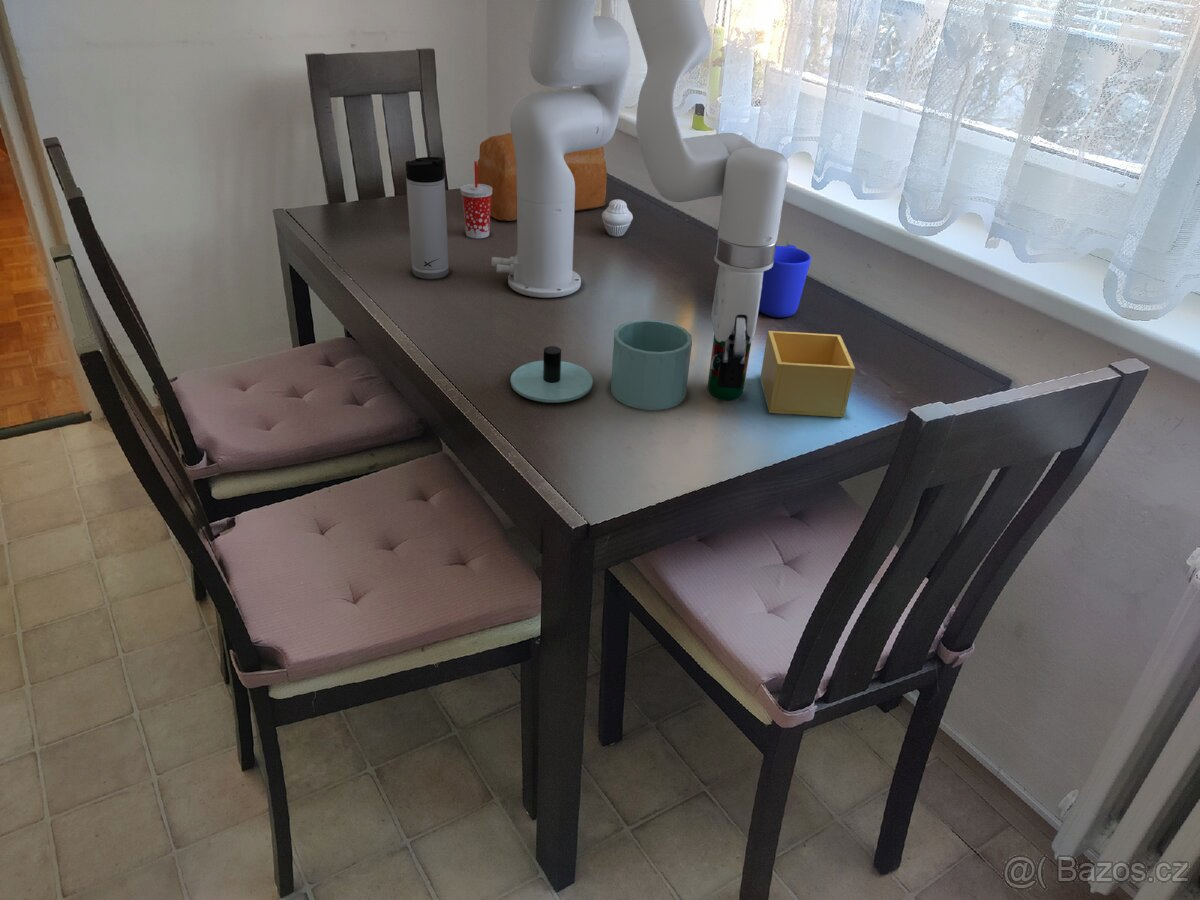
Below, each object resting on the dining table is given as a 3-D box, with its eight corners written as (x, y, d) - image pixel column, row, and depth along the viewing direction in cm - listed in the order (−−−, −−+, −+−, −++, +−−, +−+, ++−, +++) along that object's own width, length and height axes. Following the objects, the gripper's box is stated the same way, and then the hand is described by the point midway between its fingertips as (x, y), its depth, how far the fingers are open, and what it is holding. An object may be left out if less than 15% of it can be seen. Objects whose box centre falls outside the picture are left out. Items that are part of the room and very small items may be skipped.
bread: (611, 208, 191) (615, 132, 183) (501, 225, 179) (501, 144, 170) (578, 190, 201) (580, 117, 192) (472, 205, 189) (469, 128, 180)
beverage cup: (497, 238, 173) (496, 165, 165) (466, 241, 171) (463, 167, 163) (488, 227, 177) (486, 156, 170) (458, 230, 175) (455, 158, 168)
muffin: (597, 236, 176) (599, 201, 172) (604, 227, 181) (606, 192, 178) (628, 240, 175) (630, 205, 171) (634, 230, 180) (636, 196, 176)
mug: (807, 298, 155) (817, 243, 150) (796, 325, 146) (807, 267, 140) (760, 290, 157) (769, 235, 152) (747, 316, 148) (755, 258, 142)
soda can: (741, 405, 123) (754, 325, 116) (704, 399, 123) (715, 320, 117) (743, 387, 127) (756, 309, 120) (708, 382, 127) (718, 305, 121)
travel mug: (434, 283, 153) (427, 164, 142) (405, 273, 156) (396, 157, 145) (457, 272, 157) (453, 157, 146) (429, 263, 160) (422, 149, 149)
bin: (769, 413, 121) (777, 363, 117) (760, 377, 130) (768, 330, 126) (844, 417, 121) (855, 368, 117) (830, 381, 130) (840, 334, 126)
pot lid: (505, 403, 120) (505, 366, 117) (515, 364, 129) (515, 329, 126) (590, 408, 120) (592, 371, 117) (593, 369, 129) (595, 334, 126)
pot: (610, 407, 120) (613, 351, 116) (611, 371, 129) (615, 317, 124) (687, 412, 120) (693, 355, 116) (683, 375, 129) (689, 321, 124)
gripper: (710, 226, 121) (696, 347, 131) (721, 274, 106) (704, 406, 116) (766, 230, 121) (747, 350, 131) (784, 278, 106) (761, 409, 116)
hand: (727, 375), depth 123 cm, fingers closed on soda can, 5 cm apart
